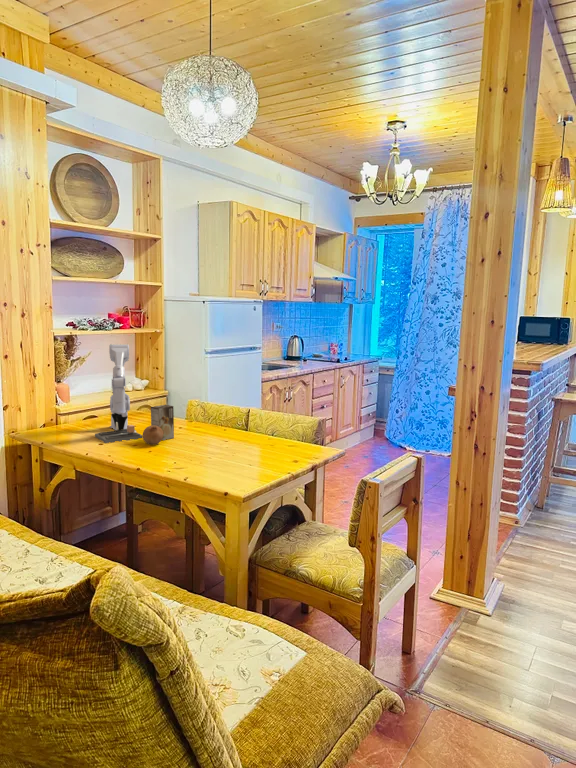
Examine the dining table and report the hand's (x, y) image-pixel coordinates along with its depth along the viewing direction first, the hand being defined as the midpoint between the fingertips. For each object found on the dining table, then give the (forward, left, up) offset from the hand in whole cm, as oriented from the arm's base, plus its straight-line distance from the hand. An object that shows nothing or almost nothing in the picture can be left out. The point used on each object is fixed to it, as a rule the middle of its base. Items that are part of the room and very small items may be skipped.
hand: (119, 428), depth 264 cm
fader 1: (0, 0, -2) cm, 2 cm away
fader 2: (+9, +2, -2) cm, 10 cm away
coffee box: (+17, +15, -4) cm, 23 cm away
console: (+4, -2, -3) cm, 6 cm away
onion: (+24, +7, -4) cm, 25 cm away
